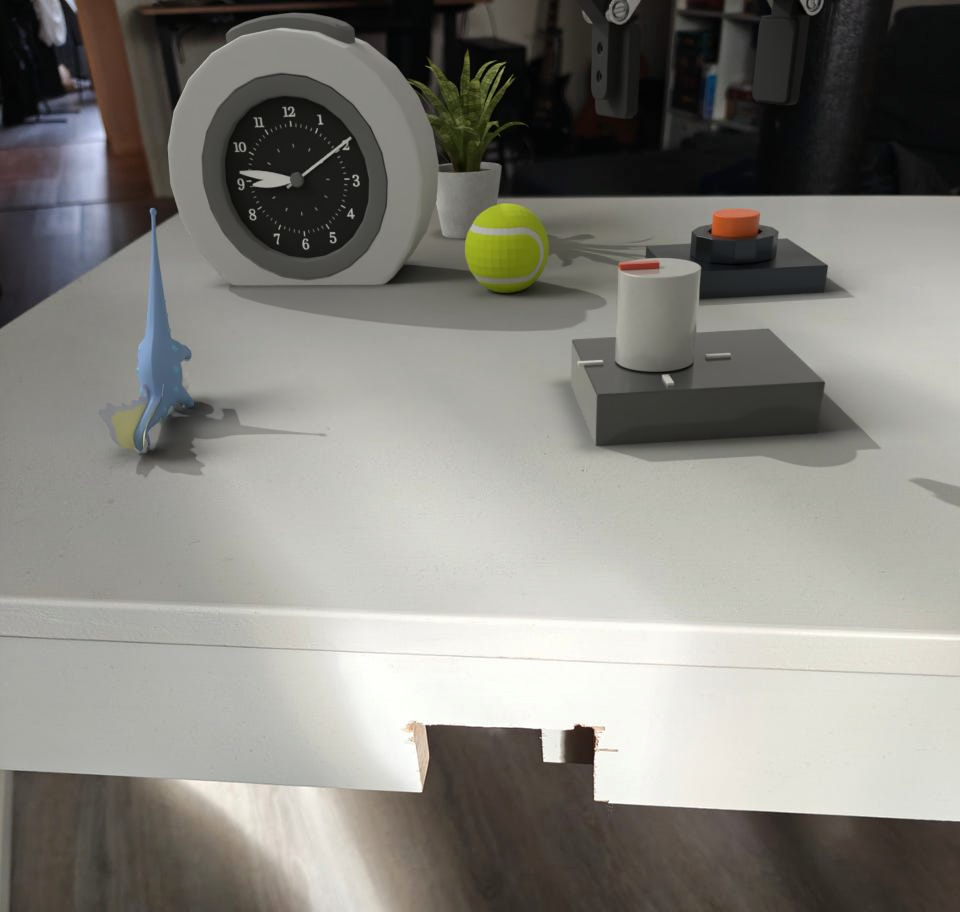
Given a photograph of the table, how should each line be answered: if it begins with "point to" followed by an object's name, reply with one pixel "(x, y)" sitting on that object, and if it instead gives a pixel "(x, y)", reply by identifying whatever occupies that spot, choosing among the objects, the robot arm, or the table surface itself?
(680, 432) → the dark grey knob base
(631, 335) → the hob knob
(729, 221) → the button
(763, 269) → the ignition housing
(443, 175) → the house plant
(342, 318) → the table surface
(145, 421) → the dinosaur figurine
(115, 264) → the table surface
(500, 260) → the tennis ball
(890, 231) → the table surface
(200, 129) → the alarm clock
